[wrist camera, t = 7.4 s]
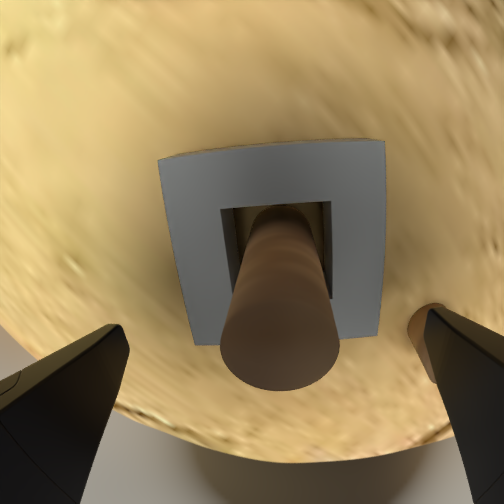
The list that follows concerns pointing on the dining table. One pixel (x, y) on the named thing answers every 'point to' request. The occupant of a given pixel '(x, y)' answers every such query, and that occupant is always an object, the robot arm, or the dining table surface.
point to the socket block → (270, 193)
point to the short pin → (421, 336)
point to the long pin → (280, 307)
